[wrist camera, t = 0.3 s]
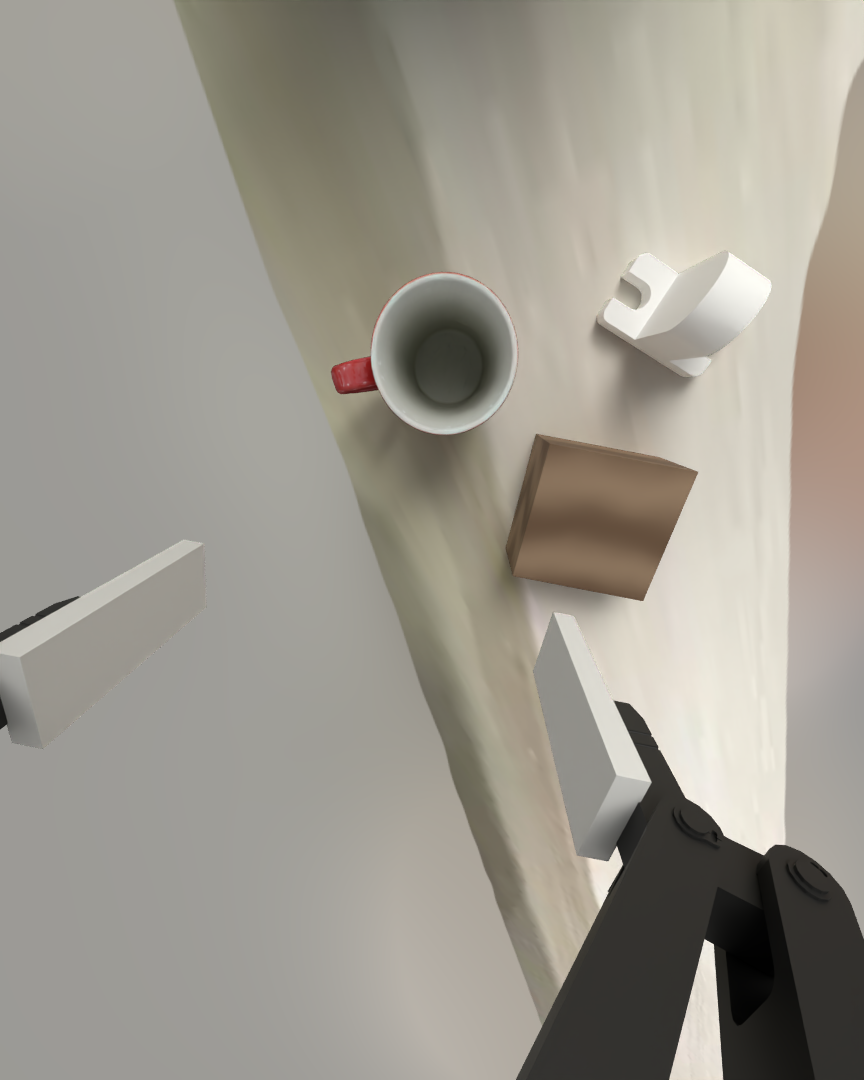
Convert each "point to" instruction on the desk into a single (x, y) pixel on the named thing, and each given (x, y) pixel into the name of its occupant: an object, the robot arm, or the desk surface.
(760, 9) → the desk surface
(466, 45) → the desk surface
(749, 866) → the robot arm
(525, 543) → the walnut block
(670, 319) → the cable organizer
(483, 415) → the mug
